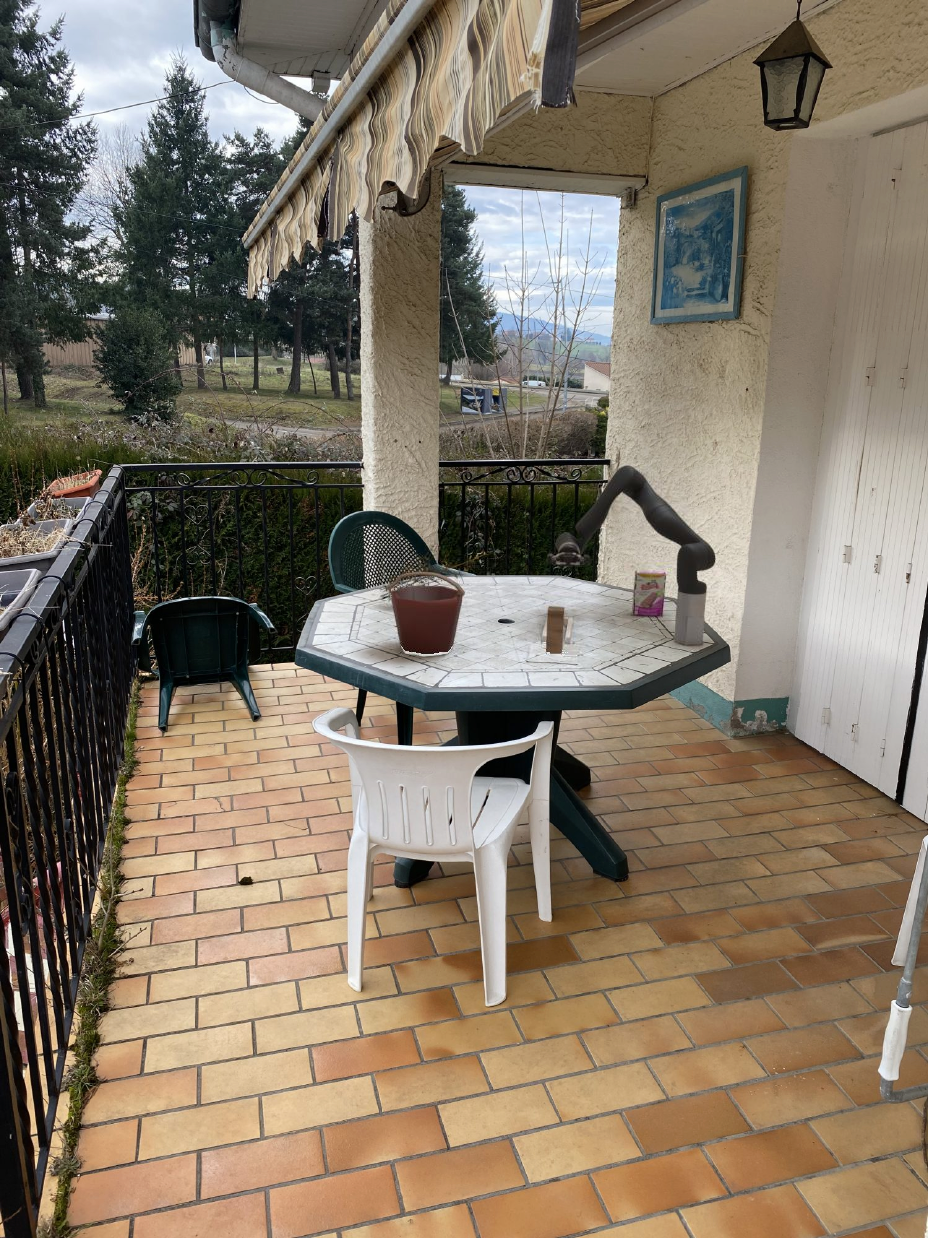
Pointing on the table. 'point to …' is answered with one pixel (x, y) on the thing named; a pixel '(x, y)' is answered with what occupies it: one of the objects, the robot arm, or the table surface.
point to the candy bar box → (648, 593)
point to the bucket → (426, 614)
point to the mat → (567, 648)
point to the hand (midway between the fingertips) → (567, 563)
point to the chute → (568, 633)
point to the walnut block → (555, 629)
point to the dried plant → (422, 575)
